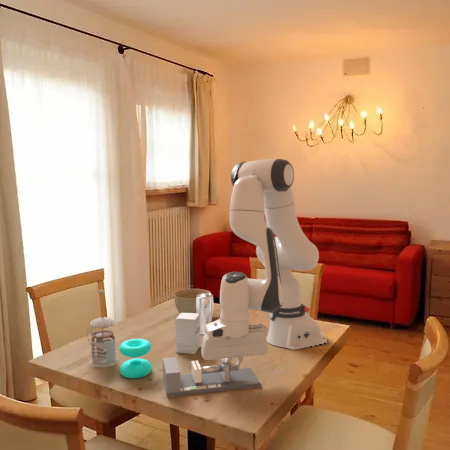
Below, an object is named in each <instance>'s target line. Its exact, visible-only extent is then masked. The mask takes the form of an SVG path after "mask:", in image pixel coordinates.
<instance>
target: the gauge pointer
mask: <svg viewBox="0 0 450 450" xmlns="http://www.w3.org/2000/svg"><path fill="white" fill-rule="evenodd" d="M190 363H191V374H192V376H193V379H194V382H195V383H199V382H202V372H201V367H202V366H201V365H200V363H199V360H198V359H197V360H191V362H190Z"/></svg>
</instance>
